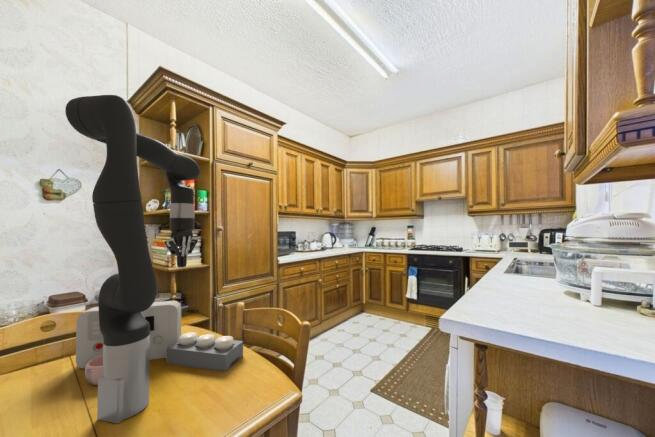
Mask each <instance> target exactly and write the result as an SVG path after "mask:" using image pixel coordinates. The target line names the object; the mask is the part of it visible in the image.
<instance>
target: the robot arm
mask: <svg viewBox="0 0 655 437" xmlns="http://www.w3.org/2000/svg"><path fill="white" fill-rule="evenodd" d="M64 111H65V117H66V118H67V119H66V120H67V122H68V123H69V125H70V126H71V127H72V128H73V129H74V130H75V131H76V132H78V133H79V134H81V135H82V136H84V137H86V138H89V139H90V140H91V139H92V140H93V141H96V142H98V143H99V142H100V143H103V144H105V146H106V156H105V157H106V159H105V163H104V166H103V168H102V170H101V172H100V175H99V176H98V178H97V179H96V180H97V181H96V183H95V185H94V188H93V191H92V196H91V198H92V199H91V200H92V205H93V207H92V208H93V213H94V218H95V222H96V226H97V228H98V230H99V232H100V234H101V235H102V237H103V239H104V240H105V242H106V244H107V245H108V246H109V248H110V249H111V251H112V253H113V255H114V258H115V261H116V265H117V273H115V274H112V275H110V276H109V277H108V278H106V279H105V281H104V282H103V283H102V285H101V287H100V290H99V294H98V307H99V327H100V331H101V333H102V335H103V376H101V377H100V378H99V379H98V385H97V406H96V407H97V414H96V416H97V417H96V418H97V420H99V421H103V422H109V423H113V424H119V423H121V422H122V421H124V420H127V419H129V418H131V417H134V416H135V415H137V414H139V413H140V412H142V411H143V410H144V409H145V408H146V407H148V405H149V402H150V361H151V360H150V324H149V322H148V321H147V320H146V319H145V318H144V317H143V316H142V314H141V312H142V311H145V310H147V309H148V308H149V307H150V306H151V305H152V304H153V303H154V302H156V299H157V295H158V281H157V278H156V277H157V276H156V274H155V269H154V267H153V262H152V259H151V254H150V250H149V242H148V237H147V231H146V230H147V229H146V224H145V223H146V222H145V214H144V207H143V205H144V204H143V199H142V198H143V197H142V194H141V188H140V187H141V186H140V179H139V170H138V168H139V167H138V158H140V159H142V160H144V161H146V162H148V163H149V164H150V165H153V166H154V167H156V168H158V169H160V170H162V171H165V176H166V179H167V182H168V186H169V190H170V208H169V231H171V233H170V238H169V239H168V240H165V241H164V245H165V247H166V248H167V250H168V251H169V253H170V254H171V255H172V256H176V265H177V266H176V267H177V268H185V267H187V262H188V258H187V257H188V256H189V254H192V253H193V251H194V249H195V248H196V245H197V244H198V242H199V240H198V239H197V238H194V234H193V231H194V230H195V219H196V218H195V217H196V216H195V210H196V209H195V203H194V202H195V190H194V189H193V188H192V187H189V186H184V184H183V183H182V182H183V181H193V180H196V179H197V178H199V177H200V175H201V168H200V166H199V164H198V163H197V162H196V160H194V159H192V158H191V157H189V156H186V155H185V154H181V153H179V152H176V151H174V149H172V148H170V147H169V146H167V145H166V144H164V143H163V142H161V141H159V140H157V139H154V138H153V137H150V136H146V135H144V134H140V133H137V124H136V118H135V114H134V112H133V110H132V107H131V105H130V104H129V103H128V102H127V101H126V100H125V99H124V98H123V97H121V96H119V95H116V94H101V95H91V96H90V95H88V96H87V95H85V96H80V97H75V98H72V99H70V100H68V102H67V103H66V105H65V110H64Z"/></svg>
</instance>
